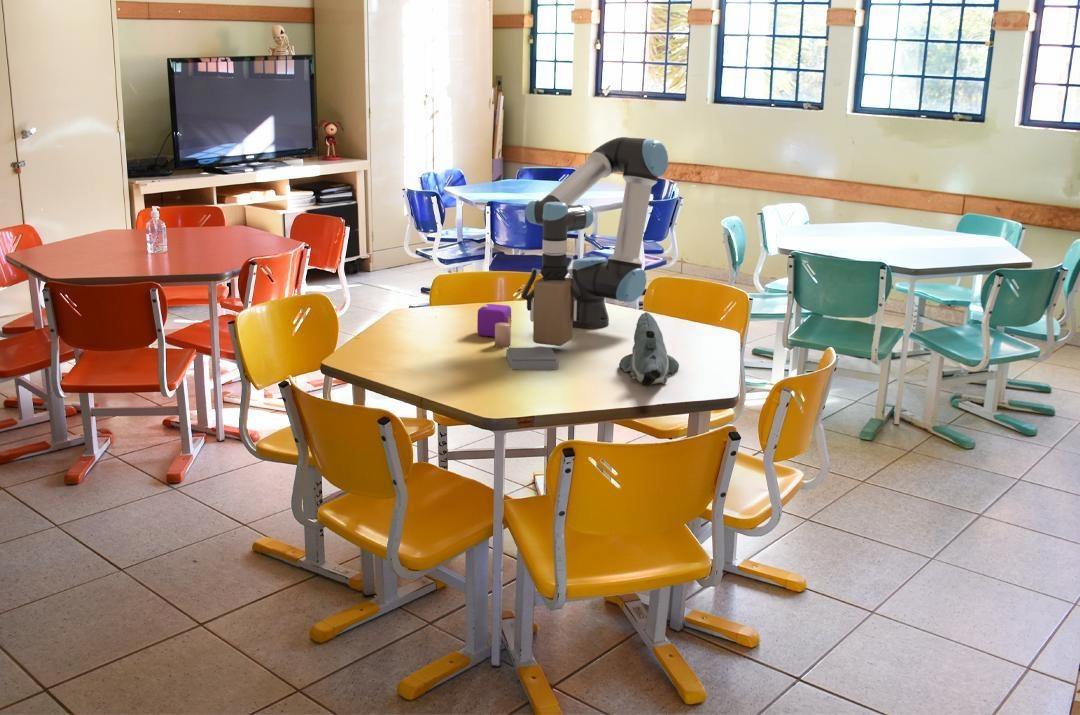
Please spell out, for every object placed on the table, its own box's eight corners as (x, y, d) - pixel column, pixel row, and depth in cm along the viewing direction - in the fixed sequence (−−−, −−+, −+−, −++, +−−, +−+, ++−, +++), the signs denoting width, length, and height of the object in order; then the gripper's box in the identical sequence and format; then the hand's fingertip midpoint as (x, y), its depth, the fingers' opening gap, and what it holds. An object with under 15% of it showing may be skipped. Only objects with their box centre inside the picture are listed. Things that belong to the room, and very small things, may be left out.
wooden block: (573, 339, 334) (574, 277, 328) (561, 347, 325) (563, 284, 319) (544, 335, 337) (545, 274, 332) (531, 343, 329) (532, 280, 323)
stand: (551, 356, 324) (551, 347, 323) (557, 369, 310) (558, 359, 309) (506, 356, 322) (506, 347, 321) (510, 369, 309) (510, 359, 308)
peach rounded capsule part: (509, 343, 337) (510, 322, 335) (511, 347, 332) (511, 326, 330) (494, 343, 336) (494, 322, 335) (495, 347, 332) (495, 326, 330)
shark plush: (681, 366, 318) (684, 314, 313) (663, 404, 281) (666, 346, 277) (623, 360, 322) (626, 309, 317) (598, 397, 286) (601, 340, 281)
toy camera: (514, 329, 356) (514, 300, 353) (508, 339, 342) (509, 309, 340) (482, 327, 357) (482, 298, 354) (476, 337, 343) (476, 307, 341)
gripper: (592, 250, 328) (590, 316, 334) (513, 251, 325) (512, 317, 331) (596, 255, 321) (594, 322, 327) (515, 255, 318) (514, 323, 324)
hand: (553, 320), depth 329 cm, fingers closed on wooden block, 13 cm apart
